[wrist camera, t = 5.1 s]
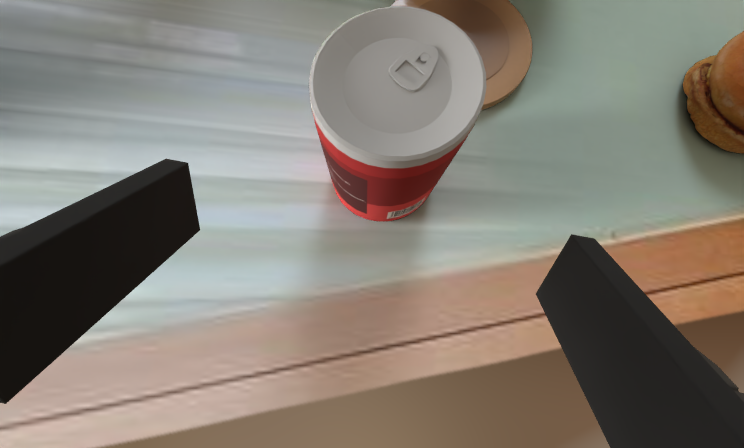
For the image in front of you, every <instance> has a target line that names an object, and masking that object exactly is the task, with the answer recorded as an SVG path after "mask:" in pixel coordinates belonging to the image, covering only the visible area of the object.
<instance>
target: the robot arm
mask: <svg viewBox="0 0 744 448" xmlns="http://www.w3.org/2000/svg"><path fill="white" fill-rule="evenodd" d="M199 230H200V227H199V221H198V216H197V210H196V205H195V199H194V194H193V188H192V183H191V177H190V172H189V166H188V163H186V162H180V161H175V160H170V159H165V160H163V161H161V162H158V163H156V164H154V165H152V166H150V167H148V168H146V169H144V170H142V171H140V172H138V173H136V174H134V175H132V176H130V177H127V178H125V179H123V180H121V181H119V182H117V183H115V184H113V185H111V186H109V187H107V188H105V189H103V190H101V191H98V192H96V193H94V194H92V195H90V196H88V197H86V198H84V199H82V200H80V201H78V202H76V203H74V204H72V205H69V206H67V207H65V208H63V209H61V210H59V211H57V212H55V213H53V214H51V215H49V216H47V217H45V218H43V219H40V220H38V221H36V222H34V223H32V224H30V225H28V226H26V227H24V228H21V229H17V230H14V231H12V232H9V233H7V234H5V235H3V236H1V237H0V403H4V404H6V403H7V402H8V401H9V400H11V399H12V398H13V397H14V396H15V395H16V394H17V393H18V392H19V391H21V390H22V389H23V388H24V387H25V386H26V385H27V384H28V383H30V382H31V381H32V380H33V379H34V378H35V377H36V376H37V375H38V374H40V373H41V372H42V371H43V370H44V369H45V368H46V367H47V366H49V365H50V364H51V363H52V362H53V361H54V360H55V359H56V358H57V357H59V356H60V355H61V354H62V353H63V352H64V351H65V350H66V349H68V348H69V347H70V346H71V345H72V344H73V343H74V342H75V341H76V340H78V339H79V338H80V337H81V336H82V335H83V334H84V333H85V332H87V331H88V330H89V329H90V328H91V327H92V326H93V325H94V324H95V323H97V322H98V321H99V320H100V319H101V318H102V317H103V316H104V315H106V314H107V313H108V312H109V311H110V310H111V309H112V308H113V307H114V306H116V305H117V304H118V303H119V302H120V301H121V300H122V299H123V298H125V297H126V296H127V295H128V294H129V293H130V292H131V291H132V290H133V289H135V288H136V287H137V286H138V285H139V284H140V283H141V282H142V281H144V280H145V279H146V278H147V277H148V276H149V275H150V274H151V273H152V272H154V271H155V270H156V269H157V268H158V267H159V266H160V265H161V264H162V263H164V262H165V261H166V260H167V259H168V258H169V257H170V256H171V255H173V254H174V253H175V252H176V251H177V250H178V249H179V248H180V247H181V246H183V245H184V244H185V243H186V242H187V241H188V240H189V239H190V238H192V237H193V236H194V235H195V234H196V233H197V232H198V231H199ZM536 295H537V297H538V299H539V302H540V304H541V306H542V308H543V310H544V312H545V314H546V316H547V318H548V320H549V322H550V324H551V326H552V328H553V330H554V332H555V335H556V337H557V339H558V341H559V343H560V345H561V347H562V349H563V351H564V353H565V355H566V357H567V359H568V361H569V363H570V365H571V367H572V370H573V372H574V374H575V376H576V378H577V380H578V382H579V384H580V386H581V388H582V390H583V392H584V394H585V396H586V398H587V400H588V402H589V405H590V407H591V409H592V410H593V413H594V415H595V417H596V419H597V421H598V423H599V425H600V427H601V429H602V431H603V433H604V435H605V437H606V440H607V442H608V444H609V446H610V448H744V394H743V393H740V392H739V391H738V387H737V386H736V385H735V384H734V383H733V382H732V381H731V380H730V379H729V378H728V376H727V375H726V374H725V373H724V372H723V371H722V370H721V369H720V368H719V367H718V366H717V365H716V364H715V363H713V362H712V361H711V360H710V359H708V358H707V357H706V356H705V355H703V354H702V353H701V352H699V351H698V350H697V349H695V348H694V347H693V346H692V345H691V344H690V343H689V341H688V340H687V339H686V338H685V337H684V336H683V335H682V334H681V333H680V332H679V331H678V330H677V328H676V327H675V326H674V325H673V324H672V323H671V322H670V321H669V320H668V319H667V317H666V316H665V315H664V314H663V313H662V312H661V311H660V310H659V309H658V308H657V306H656V305H655V304H654V303H653V302H652V301H651V300H650V299H649V298H648V297H647V296H646V294H645V293H644V292H643V291H642V290H641V289H640V288H639V287H638V286H637V285H636V284H635V282H634V281H633V280H632V279H631V278H630V277H629V276H628V275H627V274H626V273H625V272H624V270H623V269H622V268H621V267H620V266H619V265H618V264H617V263H616V262H615V261H614V259H613V258H612V257H611V256H610V255H609V254H608V253H607V252H606V251H605V250H604V249H603V247H602V246H601V245H600V244H599V243H598V242H597V241H596V240H595V239H593V238H588V237H583V236H577V235H572V234H571V236H570V238H569V239H568V241H567V243H566V244H565V246H564V248H563V249H562V251H561V253H560V254H559V256H558V258H557V259H556V261H555V263H554V264H553V266H552V268H551V269H550V271H549V273H548V274H547V276H546V278H545V279H544V281H543V283H542V284H541V286H540V288H539V289H538V291H537V293H536Z"/></svg>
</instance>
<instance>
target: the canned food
mask: <svg viewBox="0 0 744 448" xmlns="http://www.w3.org/2000/svg"><path fill="white" fill-rule="evenodd" d="M309 90H310V101H311V109H312V112H313V116H314V120H315V125H316V128H317V131H318V135H319V138H320V141H321V145H322V148H323V152H324V155H325V158H326V162H327V165H328V168H329V172H330V175H331V179H332V182H333V185H334V188H335V191H336V194H337V195H338V197H339V199H340V200H341V202H342V203H343V204H344V205H345V206H346V207H347V208H348V209H349V210H350V211H352V212H353V213H354V214H356V215H358V216H360V217H362V218H365V219H368V220H373V221H392V220H397V219H400V218H402V217H405V216H407V215H409V214H411V213H412V212H414V211H415V210H417V209H418V208H419V207H420V206H421V205H422V204H423V203H424V201H425V200H426V199H427V197H428V196H429V194H430V193H431V191H432V190H433V188H434V187H435V185H436V184H437V182H438V181H439V179H440V178H441V176H442V175H443V173H444V172H445V170H446V169H447V167H448V165H449V164H450V162H451V161H452V159H453V158H454V156H455V155H456V153H457V152H458V150H459V149H460V147H461V146H462V144H463V143H464V141H465V140H466V138H467V136H468V134H469V133H470V131H471V130H472V128H473V127H474V125H475V122H476V120H477V118H478V115H479V113H480V111H481V108H482V106H483V104H484V99H485V93H486V72H485V68H484V64H483V61H482V57H481V56H480V54H479V52H478V50H477V48H476V46H475V44H474V43H473V42H472V41H471V39H470V38H469V37H468V36H467V34H466V33H465V32H464V31H462V30H461V29H460V28H459V27H458V26H457V25H455V24H454V23H453V22H451V21H449V20H448V19H446V18H444V17H442V16H441V15H438V14H435V13H433V12H430V11H427V10H424V9H419V8H413V7H403V6H391V7H384V8H376V9H373V10H370V11H367V12H364V13H361V14H359V15H357V16H355V17H353V18H351V19H349V20H347V21H345V22H344V23H343V24H341V25H340V26H339V27H337V28H336V29H335V30H334V31H333V32H332V33H331V34H330V35H329V36H328V37H327V38H326V39H325V41H324V42H323V43H322V45H321V47H320V48H319V50H318V52H317V53H316V55H315V58H314V61H313V64H312V67H311V69H310V79H309Z"/></svg>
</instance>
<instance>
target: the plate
mask: <svg viewBox="0 0 744 448" xmlns="http://www.w3.org/2000/svg"><path fill="white" fill-rule="evenodd" d="M391 6H403V7H413V8H419V9H424V10H427V11H430V12H433V13H435V14H438V15H441V16H442V17H444V18H446V19H448V20H449V21H451V22H453V23H454V24H455V25H457V26H458V27H459V28H460V29H461V30H462V31H464V32H465V33H466V34H467V36H468V37H469V38H470V39H471V41H472V42H473V43H474V44H475V46H476V48H477V50H478V52H479V54H480V56H481V57H482V61H483V64H484V68H485V72H486V93H485V99H484V104H483V106H482V108H481V110H484V109H487V108H489V107H492V106H494V105H496V104H498V103H500V102H501V101H503V100H504V99H506V98H507V97H508V96H509V95H510V94H511V93H512V92H513V91H514V90H515V89H516V88H517V87H518V85H519V84H520V82H521V81H522V80H523V78H524V77H525V75H526V73H527V71H528V69H529V66H530V63H531V58H532V40H531V35H530V32H529V29H528V26H527V24H526V22H525V20H524V19H523V17H522V16H521V14H520V13H519V11H518V10H517V9H516V8H515V7H514V6H513V5H512V4H511V3H510V2H509V1H508V0H396V1H395V2H394V3H393V4H392V5H391Z"/></svg>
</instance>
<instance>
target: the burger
mask: <svg viewBox="0 0 744 448" xmlns="http://www.w3.org/2000/svg"><path fill="white" fill-rule="evenodd" d="M683 88H684V92H685V94H686V95H687V96H688V100H687V109H688V112H689V113H690V114H691V116H690V117H691V119H692V121H693V122H694V123H695V128H696V130H697V131H698V132H699V133H700V134H701V135H702V136H703V137H704V138H706V139H707V140H709V141H710V142H711V143H713V144H715V145H717V146H718V147H720V148H722V149H724V150H726V151H730V152H735V153H743V154H744V31H743V32H742V33H740V34H738V35H737V36H735V37H734V38H732V39H731V40H730V41H728V42H727V44H726V45H725V46H724V47H723V48H722V49H721V50H720V51H719V52H718V54H717V55H715V56H710V57H708V58H706V59H703V60H701V61H699V62H697V63H695V65H694V66H693V67H691V68H690V69H689V70H688V72H687V73H686V75H685V78H684V82H683Z"/></svg>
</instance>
